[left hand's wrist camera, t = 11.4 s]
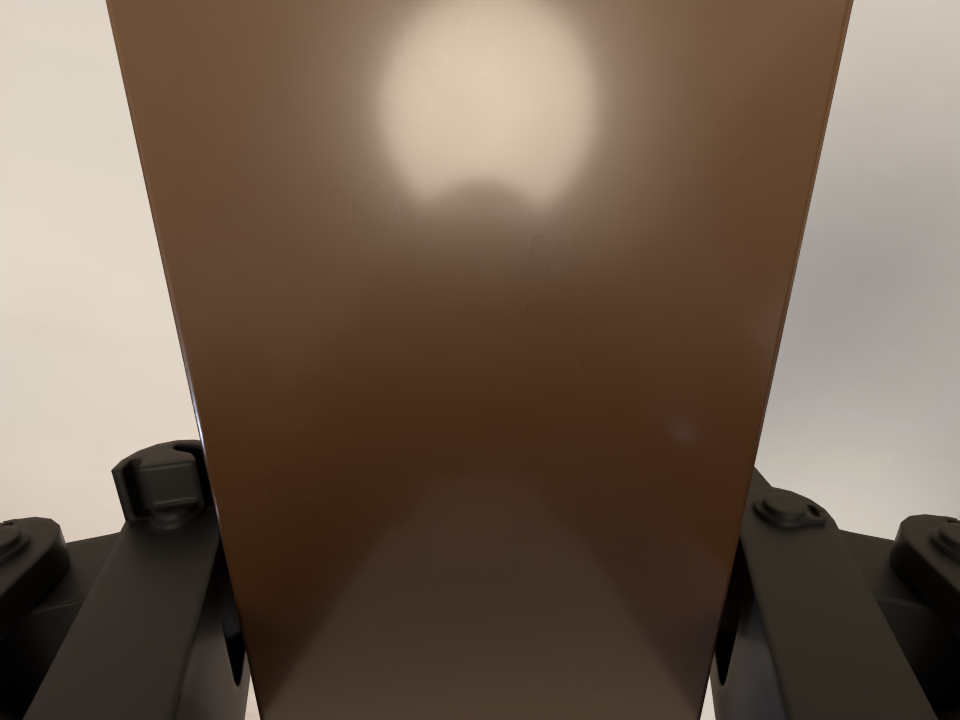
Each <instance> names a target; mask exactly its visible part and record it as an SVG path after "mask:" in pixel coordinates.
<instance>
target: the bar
mask: <svg viewBox="0 0 960 720" xmlns="http://www.w3.org/2000/svg"><path fill="white" fill-rule="evenodd" d="M106 4H107V8H108V13H109V18H110V22H111V27H112V32H113V36H114V41H115V46H116V50H117V55H118V60H119V64H120V69H121V74H122V78H123V83H124V87H125V92H126V97H127V101H128V106H129V111H130V115H131V120H132V125H133V129H134V134H135V139H136V143H137V148H138V153H139V157H140V162H141V167H142V171H143V176H144V180H145V185H146V190H147V194H148V199H149V204H150V208H151V213H152V218H153V222H154V227H155V232H156V236H157V241H158V246H159V250H160V255H161V260H162V264H163V269H164V273H165V278H166V283H167V287H168V292H169V297H170V301H171V306H172V311H173V315H174V320H175V325H176V329H177V334H178V339H179V343H180V348H181V352H182V357H183V362H184V366H185V371H186V376H187V380H188V385H189V390H190V394H191V399H192V404H193V408H194V413H195V418H196V422H197V427H198V432H199V436H200V441H201V445H202V450H203V455H204V459H205V464H206V469H207V473H208V478H209V483H210V487H211V492H212V497H213V501H214V506H215V511H216V515H217V520H218V524H219V529H220V534H221V538H222V543H223V548H224V552H225V557H226V562H227V566H228V571H229V576H230V580H231V585H232V590H233V594H234V599H235V604H236V608H237V613H238V617H239V622H240V627H241V631H242V636H243V641H244V645H245V650H246V655H247V659H248V664H249V669H250V673H251V678H252V683H253V687H254V692H255V697H256V701H257V706H258V710H259V715H260V720H700V717H701V713H702V708H703V703H704V699H705V694H706V689H707V685H708V680H709V675H710V671H711V666H712V661H713V657H714V652H715V647H716V642H717V638H718V633H719V628H720V624H721V619H722V614H723V610H724V605H725V600H726V596H727V591H728V586H729V581H730V577H731V572H732V567H733V563H734V558H735V553H736V549H737V544H738V539H739V535H740V530H741V525H742V521H743V516H744V511H745V506H746V502H747V497H748V492H749V488H750V483H751V478H752V474H753V469H754V464H755V460H756V455H757V450H758V445H759V441H760V436H761V431H762V427H763V422H764V417H765V413H766V408H767V403H768V399H769V394H770V389H771V385H772V380H773V375H774V370H775V366H776V361H777V356H778V352H779V347H780V342H781V338H782V333H783V328H784V324H785V319H786V314H787V310H788V305H789V300H790V295H791V291H792V286H793V281H794V277H795V272H796V267H797V263H798V258H799V253H800V249H801V244H802V239H803V234H804V230H805V225H806V220H807V216H808V211H809V206H810V202H811V197H812V192H813V188H814V183H815V178H816V174H817V169H818V164H819V159H820V155H821V150H822V145H823V141H824V136H825V131H826V127H827V122H828V117H829V113H830V108H831V103H832V99H833V94H834V89H835V84H836V80H837V75H838V70H839V66H840V61H841V56H842V52H843V47H844V42H845V38H846V33H847V28H848V23H849V19H850V14H851V9H852V5H853V0H106Z"/></svg>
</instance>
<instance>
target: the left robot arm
mask: <svg viewBox="0 0 960 720" xmlns="http://www.w3.org/2000/svg"><path fill="white" fill-rule="evenodd" d="M111 471H112V475H113V478H114V482H115V485H116V489H117V492H118V496H119V499H120V503H121V506H122V510H123V513H124V517H125V520H126V522H125V524H124V526H123V528H122V529H121V531H120V532H118V533H114V534H110V535H105V536H100V537H95V538H89V539H84V540H79V541H74V542H69V543H65V540H64V537H63V534H62V531H61V528H60V525H59V524H57V523H56V522H55V521H53V520H52V519H48V518H40V517H31V518H23V519H13V520H8V521H3V523H0V720H245V712H246V704H247V697H248V689H249V682H250V674H251V673H250V669H249V664H248V659H247V655H246V650H245V645H244V641H243V636H242V631H241V627H240V622H239V617H238V613H237V608H236V604H235V599H234V594H233V590H232V585H231V580H230V576H229V571H228V566H227V562H226V557H225V552H224V548H223V543H222V538H221V534H220V529H219V524H218V520H217V515H216V511H215V506H214V501H213V497H212V492H211V487H210V483H209V478H208V473H207V469H206V464H205V459H204V455H203V450H202V445H201V441H199V440H176V441H171V442H166V443H161V444H156V445H154V446H151V447H148V448H145V449H142V450H140V451H137V452H135V453H134V454H132V455H130V456H128V457H127V458H125V459H123V460H121V461H120V462H119V463H118V464H117V465H116V466H115V467H114V468H113V469H112V470H111ZM710 680H711V688H712V695H713V703H714V711H715V718H716V720H960V521H959V520H957V519H956V518H951V517H946V516H935V515H927V514H923V515H915V516H909V517H908V518H906V519H905V520H904V521H902V522H901V524H900V527H899V530H898V533H897V535H896V538H895V541H894V540H889V539H884V538H878V537H873V536H868V535H863V534H858V533H853V532H848V531H844V530H840V529H839V528H838V526H837V525H836V523H835V521H834V519H833V518H832V517H831V516H830V515H829V514H828V512H827V511H826V510H825V509H824V508H822V507H821V506H819V505H818V504H816V503H815V502H813V501H812V500H810V499H808V498H806V497H804V496H801V495H799V494H797V493H794V492H792V491H788V490H784V489H779V488H775V487H771V485H770V484H769V483H768V482H767V481H766V480H765V478H764V477H763V476H762V475H761V474H760V473H759V471H758V470H757V469H756V468H755V467H754V469H753V474H752V478H751V483H750V488H749V492H748V497H747V502H746V506H745V511H744V516H743V521H742V525H741V530H740V535H739V539H738V544H737V549H736V553H735V558H734V563H733V567H732V572H731V577H730V581H729V586H728V591H727V596H726V600H725V605H724V610H723V614H722V619H721V624H720V628H719V633H718V638H717V642H716V647H715V652H714V657H713V661H712V666H711V671H710Z"/></svg>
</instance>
